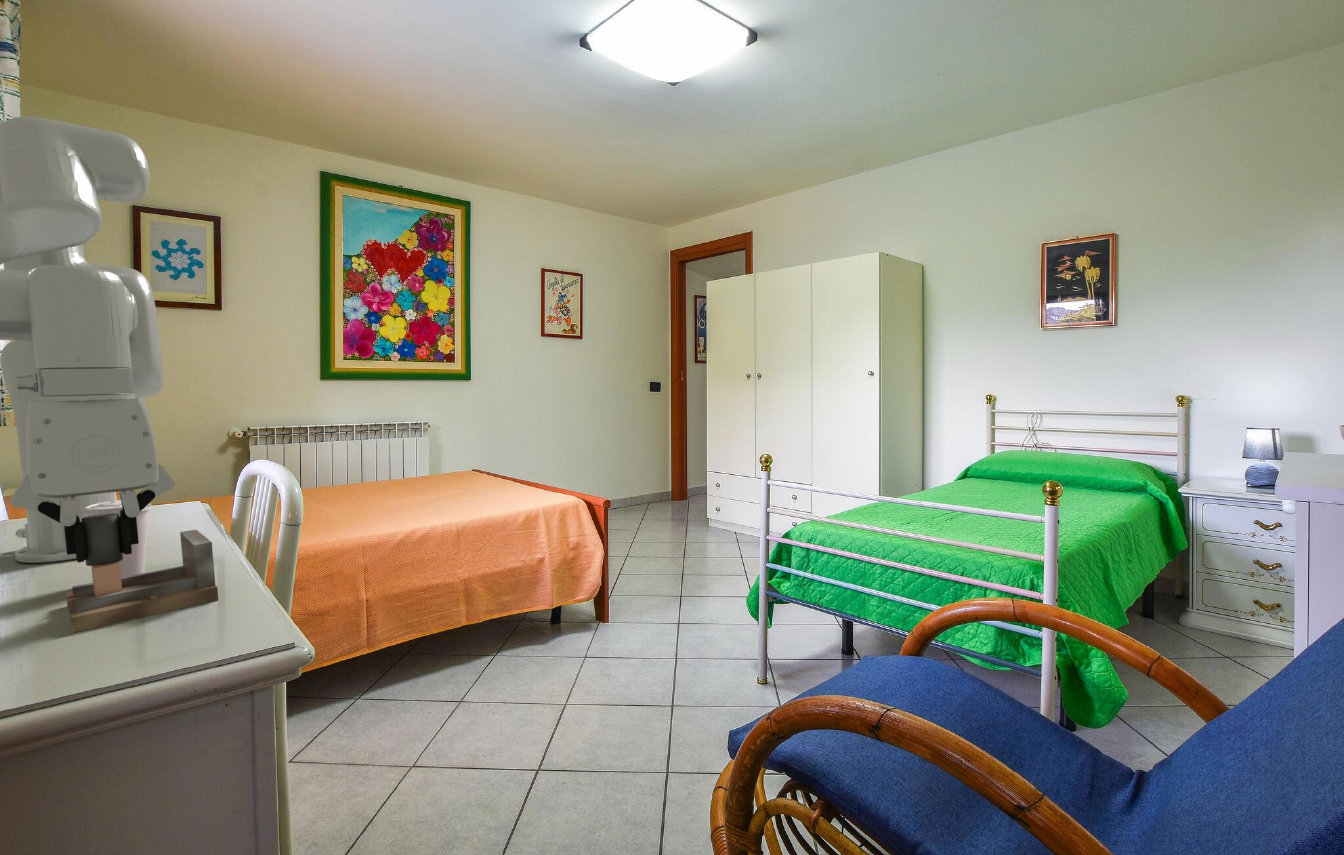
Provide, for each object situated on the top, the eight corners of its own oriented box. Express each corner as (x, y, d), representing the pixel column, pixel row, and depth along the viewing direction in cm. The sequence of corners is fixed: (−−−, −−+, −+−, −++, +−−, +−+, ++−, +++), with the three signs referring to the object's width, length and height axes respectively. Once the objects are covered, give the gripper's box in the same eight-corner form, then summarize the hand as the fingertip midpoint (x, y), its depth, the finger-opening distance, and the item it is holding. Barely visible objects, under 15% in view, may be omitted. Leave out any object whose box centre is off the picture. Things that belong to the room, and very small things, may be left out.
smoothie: (123, 571, 83) (113, 466, 82) (171, 570, 83) (161, 465, 82) (76, 587, 77) (64, 473, 76) (127, 587, 77) (116, 473, 75)
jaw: (91, 603, 66) (83, 522, 65) (87, 592, 70) (79, 515, 69) (128, 595, 68) (121, 517, 68) (123, 585, 72) (116, 510, 71)
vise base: (73, 632, 63) (66, 568, 62) (67, 605, 71) (61, 548, 70) (218, 599, 72) (213, 543, 71) (199, 579, 79) (194, 528, 79)
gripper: (-30, 389, 59) (-8, 582, 60) (189, 384, 70) (203, 546, 72) (-26, 388, 64) (-5, 566, 65) (178, 384, 75) (191, 535, 77)
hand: (104, 554), depth 69 cm, fingers closed on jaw, 3 cm apart
